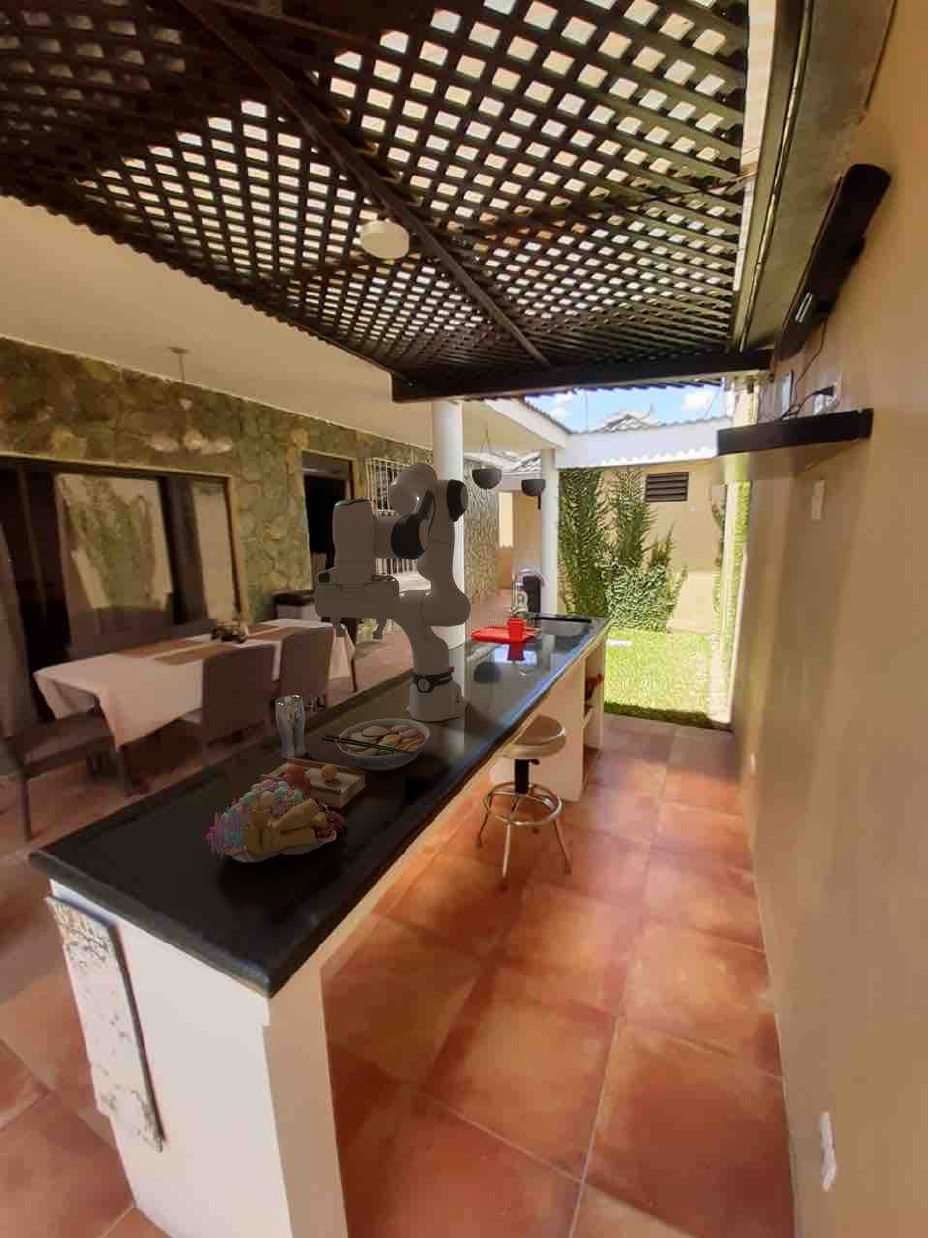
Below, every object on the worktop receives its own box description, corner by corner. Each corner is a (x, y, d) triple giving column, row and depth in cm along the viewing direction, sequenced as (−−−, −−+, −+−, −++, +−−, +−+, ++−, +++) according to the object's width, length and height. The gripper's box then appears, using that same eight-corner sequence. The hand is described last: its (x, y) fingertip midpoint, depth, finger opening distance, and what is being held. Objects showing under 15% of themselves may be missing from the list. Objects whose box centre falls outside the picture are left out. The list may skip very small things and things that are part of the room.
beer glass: (286, 763, 122) (280, 706, 120) (275, 754, 128) (270, 699, 125) (312, 754, 127) (307, 699, 124) (301, 746, 132) (296, 693, 129)
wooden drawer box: (290, 772, 118) (289, 756, 117) (365, 786, 110) (364, 769, 109) (261, 792, 109) (259, 775, 108) (340, 808, 101) (338, 791, 101)
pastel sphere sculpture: (365, 838, 91) (368, 790, 90) (233, 883, 74) (236, 824, 74) (303, 792, 108) (306, 751, 108) (185, 820, 92) (188, 772, 92)
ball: (327, 775, 110) (326, 760, 109) (340, 777, 108) (339, 762, 108) (317, 782, 106) (316, 767, 106) (331, 785, 105) (329, 770, 104)
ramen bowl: (451, 752, 126) (450, 722, 124) (404, 796, 105) (402, 761, 104) (371, 738, 136) (369, 710, 135) (314, 775, 116) (311, 743, 114)
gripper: (405, 574, 104) (407, 637, 106) (326, 574, 112) (329, 633, 114) (391, 576, 98) (393, 643, 100) (308, 575, 106) (312, 638, 108)
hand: (359, 638), depth 107 cm, fingers open, 8 cm apart
